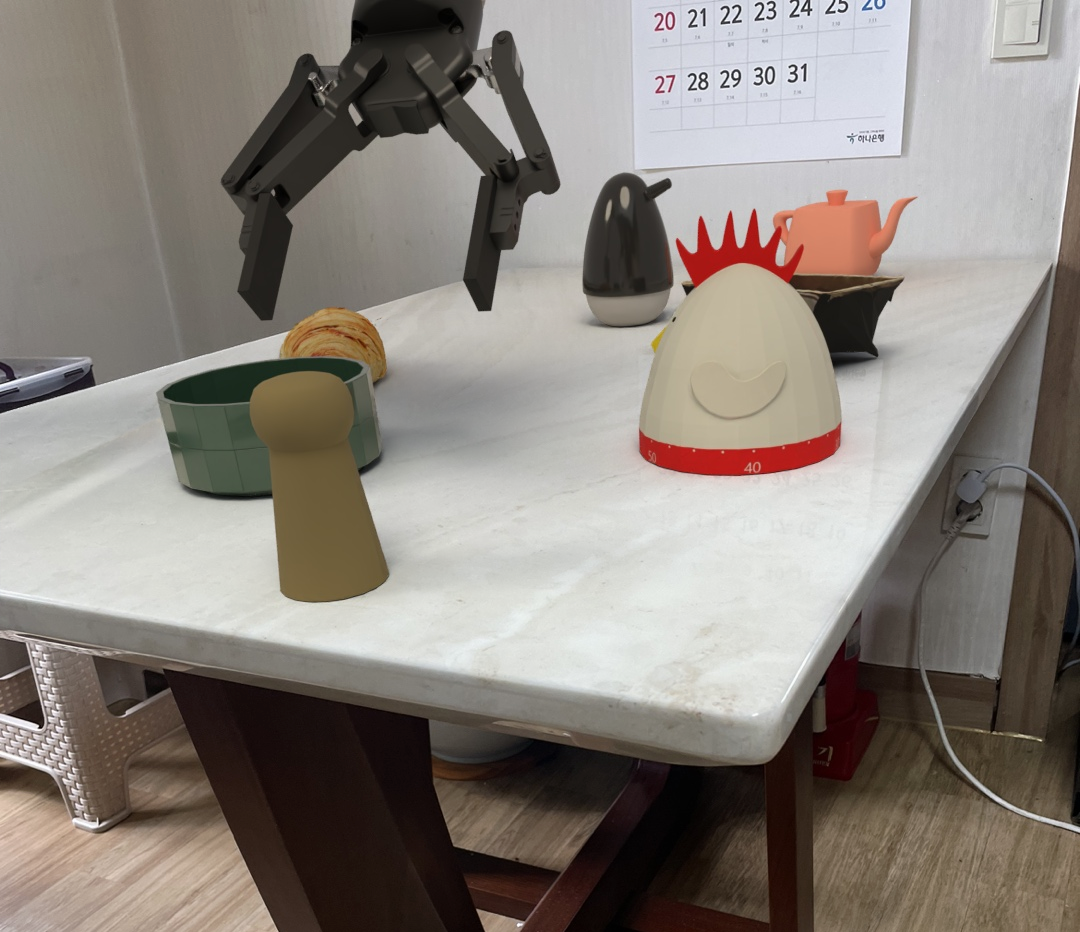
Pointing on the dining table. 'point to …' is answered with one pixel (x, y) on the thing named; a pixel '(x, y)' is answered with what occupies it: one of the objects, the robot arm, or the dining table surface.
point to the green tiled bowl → (226, 429)
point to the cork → (316, 488)
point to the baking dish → (843, 306)
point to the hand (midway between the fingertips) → (362, 301)
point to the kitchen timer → (740, 367)
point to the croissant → (337, 339)
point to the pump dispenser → (627, 253)
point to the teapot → (839, 234)
